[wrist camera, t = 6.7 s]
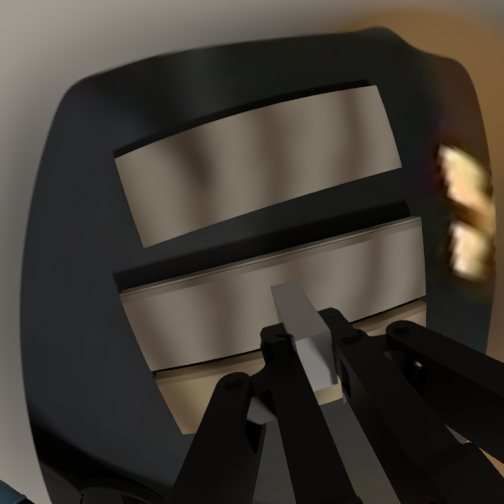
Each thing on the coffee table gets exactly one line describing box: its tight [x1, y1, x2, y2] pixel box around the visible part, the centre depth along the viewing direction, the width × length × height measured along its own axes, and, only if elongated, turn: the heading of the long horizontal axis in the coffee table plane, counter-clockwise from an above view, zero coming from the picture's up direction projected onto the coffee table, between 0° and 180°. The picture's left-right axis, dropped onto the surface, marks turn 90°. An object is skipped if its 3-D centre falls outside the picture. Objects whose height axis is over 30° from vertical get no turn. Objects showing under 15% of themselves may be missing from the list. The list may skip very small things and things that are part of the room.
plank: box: [115, 86, 402, 248], centre depth 24 cm, size 24×8×1 cm, turn 108°
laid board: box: [155, 300, 426, 434], centre depth 28 cm, size 28×8×1 cm, turn 104°
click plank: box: [119, 216, 426, 371], centre depth 26 cm, size 28×8×1 cm, turn 104°
